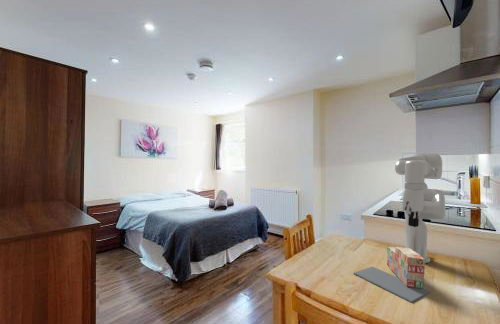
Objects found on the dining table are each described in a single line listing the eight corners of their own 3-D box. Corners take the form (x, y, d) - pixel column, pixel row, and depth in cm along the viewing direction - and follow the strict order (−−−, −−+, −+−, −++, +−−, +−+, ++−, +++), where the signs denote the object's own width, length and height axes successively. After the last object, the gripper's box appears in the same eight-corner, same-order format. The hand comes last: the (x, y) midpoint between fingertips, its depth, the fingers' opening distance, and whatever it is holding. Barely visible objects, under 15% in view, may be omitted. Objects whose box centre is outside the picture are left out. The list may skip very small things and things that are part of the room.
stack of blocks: (386, 265, 114) (387, 240, 114) (400, 267, 113) (401, 242, 113) (406, 286, 93) (408, 256, 93) (424, 289, 92) (425, 258, 92)
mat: (372, 267, 111) (372, 266, 111) (430, 292, 91) (430, 291, 91) (353, 274, 105) (353, 272, 105) (411, 302, 84) (411, 301, 84)
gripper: (413, 185, 114) (413, 222, 114) (396, 186, 106) (395, 226, 106) (431, 187, 107) (430, 226, 107) (414, 188, 100) (413, 230, 100)
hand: (413, 225), depth 107 cm, fingers closed
